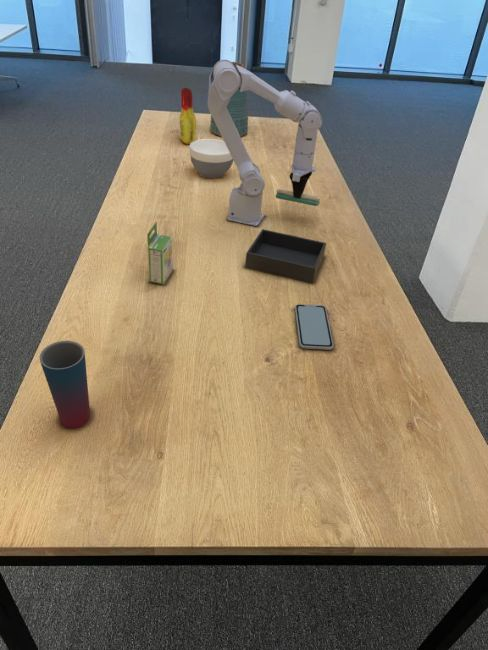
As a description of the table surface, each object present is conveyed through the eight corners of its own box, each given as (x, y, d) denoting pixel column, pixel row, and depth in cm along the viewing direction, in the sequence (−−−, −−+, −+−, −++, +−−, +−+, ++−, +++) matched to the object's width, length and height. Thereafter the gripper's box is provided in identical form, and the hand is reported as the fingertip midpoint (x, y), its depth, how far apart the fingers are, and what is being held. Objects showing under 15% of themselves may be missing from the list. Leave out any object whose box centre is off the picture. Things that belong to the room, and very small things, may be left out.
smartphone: (300, 346, 107) (294, 303, 118) (299, 349, 107) (294, 306, 119) (334, 347, 107) (325, 305, 119) (333, 350, 108) (325, 308, 119)
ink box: (164, 285, 123) (162, 236, 114) (148, 282, 123) (145, 234, 115) (173, 270, 128) (172, 223, 120) (158, 268, 128) (156, 220, 120)
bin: (245, 267, 132) (246, 252, 129) (260, 243, 142) (262, 228, 139) (312, 283, 128) (315, 268, 125) (323, 257, 138) (326, 242, 136)
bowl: (242, 177, 178) (244, 150, 172) (203, 185, 171) (204, 157, 165) (218, 162, 188) (219, 136, 182) (181, 169, 181) (181, 142, 175)
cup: (59, 403, 91) (44, 340, 82) (98, 402, 92) (87, 340, 82) (51, 433, 86) (34, 369, 76) (92, 432, 86) (80, 369, 77)
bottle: (178, 136, 208) (178, 84, 196) (194, 136, 209) (194, 84, 197) (180, 146, 199) (180, 92, 187) (196, 146, 200) (197, 92, 188)
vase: (233, 141, 208) (237, 70, 191) (202, 132, 214) (203, 63, 197) (254, 132, 219) (260, 64, 202) (224, 123, 225) (226, 57, 208)
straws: (274, 198, 152) (275, 190, 151) (277, 195, 154) (278, 187, 153) (317, 207, 150) (319, 199, 148) (319, 203, 152) (321, 195, 150)
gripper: (312, 162, 136) (305, 208, 145) (323, 145, 147) (315, 189, 156) (287, 157, 138) (281, 203, 146) (299, 141, 149) (293, 185, 157)
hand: (297, 196), depth 151 cm, fingers closed on straws
